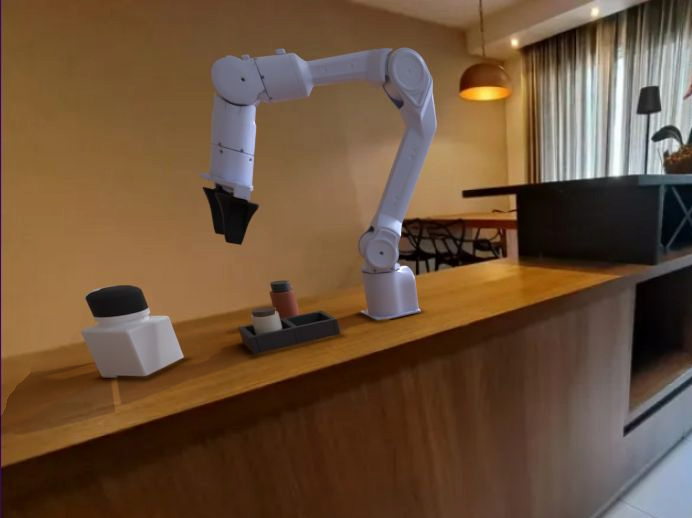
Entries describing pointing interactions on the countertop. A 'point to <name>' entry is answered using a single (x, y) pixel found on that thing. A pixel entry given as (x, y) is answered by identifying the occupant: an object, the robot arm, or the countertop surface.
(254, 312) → the cream jar
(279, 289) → the spice bottle
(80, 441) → the countertop surface
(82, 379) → the countertop surface
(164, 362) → the medicine bottle
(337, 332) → the holder
